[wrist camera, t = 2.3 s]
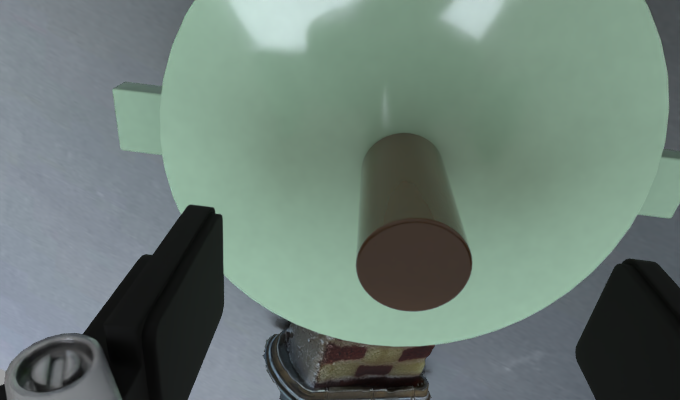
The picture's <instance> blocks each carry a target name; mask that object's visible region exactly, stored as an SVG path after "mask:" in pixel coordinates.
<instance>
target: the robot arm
mask: <svg viewBox="0 0 680 400" xmlns="http://www.w3.org/2000/svg"><path fill="white" fill-rule="evenodd" d="M223 307H224V266H223V217H222V215H221V214H215V209H214V208H213V207H208V206H200V205H192V204H190V205H188V206H187V207H186V209H185V210H184V211H183V213H182V214H181V216H180V217H179V219H178V220H177V221H176V223H175V224H174V226H173V227H172V228H171V230H170V231H169V233H168V234H167V235H166V237H165V238H164V240H163V241H162V242H161V244H160V245H159V247H158V248H157V249H156V251H155V252H154V254H153V255H148V254H146V255H143V256H141V257H140V259H139V260H138V261H137V262H136V263H135V265H134V266H133V268H132V269H131V270H130V272H129V273H128V274H127V276H126V277H125V278H124V280H123V281H122V282H121V284H120V285H119V286H118V288H117V289H116V290H115V292H114V293H113V294H112V296H111V297H110V298H109V300H108V301H107V302H106V304H105V305H104V306H103V308H102V309H101V310H100V312H99V313H98V314H97V316H96V317H95V318H94V320H93V321H92V322H91V324H90V325H89V327H88V328H87V329H86V331H85V332H84V333H83V334H78V333H68V334H59V335H55V336H51V337H47V338H45V339H43V340H40V341H38V342H36V343H34V344H32V345H31V346H29V347H28V348H26V349H24V350H23V351H21V352H20V353H19V354H18V355H17V356H16V357H15V358H14V360H13V361H12V362H11V363H10V365H9V367H8V369H7V371H6V373H5V384H3V385H1V386H0V400H188V397H189V395H190V392H191V390H192V387H193V385H194V383H195V380H196V378H197V375H198V373H199V370H200V368H201V365H202V363H203V360H204V358H205V356H206V353H207V351H208V348H209V346H210V343H211V341H212V338H213V336H214V333H215V331H216V329H217V326H218V324H219V321H220V319H221V316H222V312H223ZM576 359H577V362H578V364H579V366H580V368H581V370H582V372H583V374H584V376H585V378H586V380H587V382H588V384H589V386H590V388H591V391H592V393H593V395H594V397H595V399H596V400H680V288H679V287H678V286H677V284H676V283H675V282H674V281H673V280H672V279H671V278H670V277H669V276H668V274H667V273H666V272H665V271H664V270H663V269H662V268H661V267H660V266H659V265H658V264H657V263H656V262H652V261H644V260H636V259H626V260H625V261H623V262H622V264H617V265H616V266H615V268H614V269H613V271H612V273H611V275H610V277H609V279H608V281H607V284H606V286H605V288H604V290H603V292H602V294H601V296H600V298H599V300H598V302H597V304H596V306H595V308H594V310H593V313H592V315H591V317H590V319H589V321H588V323H587V325H586V327H585V329H584V331H583V333H582V335H581V337H580V339H579V341H578V344H577V346H576Z"/></svg>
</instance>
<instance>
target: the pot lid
mask: <svg viewBox="0 0 680 400" xmlns="http://www.w3.org/2000/svg"><path fill="white" fill-rule="evenodd" d="M159 110H160V143H161V149H162V155H163V162H164V168H165V172H166V175H167V179H168V182H169V185H170V189H171V192H172V195H173V198H174V200H175V202H176V204H177V207H178V209H179V211H180V213H181V214H182V213H183V211H184V210H185V209H186V207H187V206H188V205H190V204H192V205H200V206H208V207H213V208H214V209H215V214H221V215H222V217H223V266H224V275H225V276H226V277H227V278H228V279H229V280H230V281H231V282H232V283H233V284H234V285H235V286H236V287H238V288H239V289H240V290H241V291H242V292H244V293H245V294H246V295H247V296H249V297H250V298H251V299H252V300H254V301H256V302H257V303H259V304H260V305H262V306H263V307H265V308H266V309H268V310H269V311H271V312H273V313H274V314H276V315H278V316H280V317H282V318H284V319H286V320H288V321H290V322H292V323H294V324H296V325H299V326H301V327H304V328H306V329H309V330H312V331H314V332H317V333H319V334H323V335H327V336H330V337H334V338H337V339H341V340H345V341H351V342H357V343H362V344H368V345H380V346H392V347H405V346H427V345H436V344H445V343H451V342H455V341H460V340H465V339H470V338H474V337H477V336H480V335H484V334H487V333H490V332H493V331H497V330H499V329H502V328H504V327H506V326H509V325H511V324H514V323H516V322H518V321H521V320H523V319H525V318H527V317H529V316H531V315H532V314H534V313H536V312H538V311H540V310H542V309H544V308H545V307H547V306H549V305H550V304H552V303H553V302H555V301H556V300H558V299H559V298H560V297H562V296H563V295H565V294H566V293H568V292H569V291H571V290H572V289H573V288H574V287H575V286H577V285H578V284H579V283H580V282H581V281H583V280H584V279H585V278H586V277H587V276H588V275H590V274H591V273H592V272H593V271H594V270H595V269H596V268H597V267H598V266H599V265H600V264H601V262H602V261H603V260H604V259H605V258H606V257H607V256H608V255H609V254H610V253H611V252H612V251H613V250H614V248H615V247H616V246H617V244H618V243H619V242H620V240H621V239H622V237H623V236H624V235H625V233H626V232H627V231H628V229H629V228H630V227H631V225H632V223H633V221H634V220H635V218H636V216H637V215H638V213H639V211H640V209H641V208H642V206H643V204H644V202H645V201H646V198H647V196H648V193H649V191H650V188H651V186H652V184H653V181H654V179H655V176H656V174H657V171H658V168H659V164H660V160H661V156H662V152H663V148H664V145H665V141H666V132H667V123H668V114H669V91H668V73H667V68H666V63H665V58H664V53H663V48H662V43H661V39H660V36H659V33H658V31H657V28H656V26H655V23H654V20H653V18H652V15H651V12H650V10H649V7H648V5H647V3H646V2H645V0H194V2H193V3H192V5H191V6H190V8H189V10H188V11H187V13H186V15H185V17H184V19H183V21H182V24H181V26H180V28H179V31H178V33H177V35H176V38H175V40H174V42H173V45H172V47H171V51H170V55H169V59H168V62H167V66H166V70H165V73H164V77H163V84H162V93H161V101H160V109H159Z"/></svg>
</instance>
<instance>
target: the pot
mask: <svg viewBox="0 0 680 400" xmlns="http://www.w3.org/2000/svg"><path fill="white" fill-rule="evenodd" d="M161 93H162V86H156V85H147V84H139V83H131V82H124V83H122V84H120V85H118V86H117V87H115V88H113V98H114V105H115V113H116V120H117V127H118V135H119V142H120V149H121V150H125V151H133V152H141V153H149V154H157V155H162V149H161V143H160V110H159V109H160V101H161ZM679 203H680V151H675V150H667V149H663V152H662V156H661V160H660V164H659V168H658V171H657V174H656V176H655V179H654V181H653V184H652V186H651V188H650V191H649V193H648V196H647V198H646V201H645V202H644V204H643V206H642V208H641V209H640V211H639V213H638V215H645V216H653V217H661V218H669V219H670V218H672V216H673V215H674V213H675V211H676V209H677V207H678V205H679Z"/></svg>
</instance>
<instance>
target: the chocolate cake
mask: <svg viewBox="0 0 680 400" xmlns="http://www.w3.org/2000/svg"><path fill="white" fill-rule="evenodd" d="M434 347H435V345H427V346H405V347H392V346H380V345H368V344H362V343H357V342H351V341H345V340H341V339H337V338H334V337H330V336H327V335H323V334H319V333H317V332H314V331H312V330H309V329H306V328H304V327H301V326H299V325H296V324H294V323H291V325H290V327H289V328H288V329H285V330H283V331H282V332H281V333H280V334H274V335H273V336H271V337H270V338H269V339H268V340H267V341H266V345H265V350H264V352H265V354H264V355H263V357H264V359H265V361H266V364H267V365H266V368H267V372H268V373H269V375H270V377H271V379H272V380H273V382H274V383H276V385H277V387H278V389H279V390H280V393H281V394H280V399H281V400H430V399H431V398H432V397H431V395H430V393H429V391H428V386H429V383H428V381H427V379H426V378H425V377H424V376H423V375H422V374H421V373H422V370H423V368H424V366H425V358H426V357H427V356H429V355H430V353H431V351H432V349H433V348H434Z"/></svg>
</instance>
